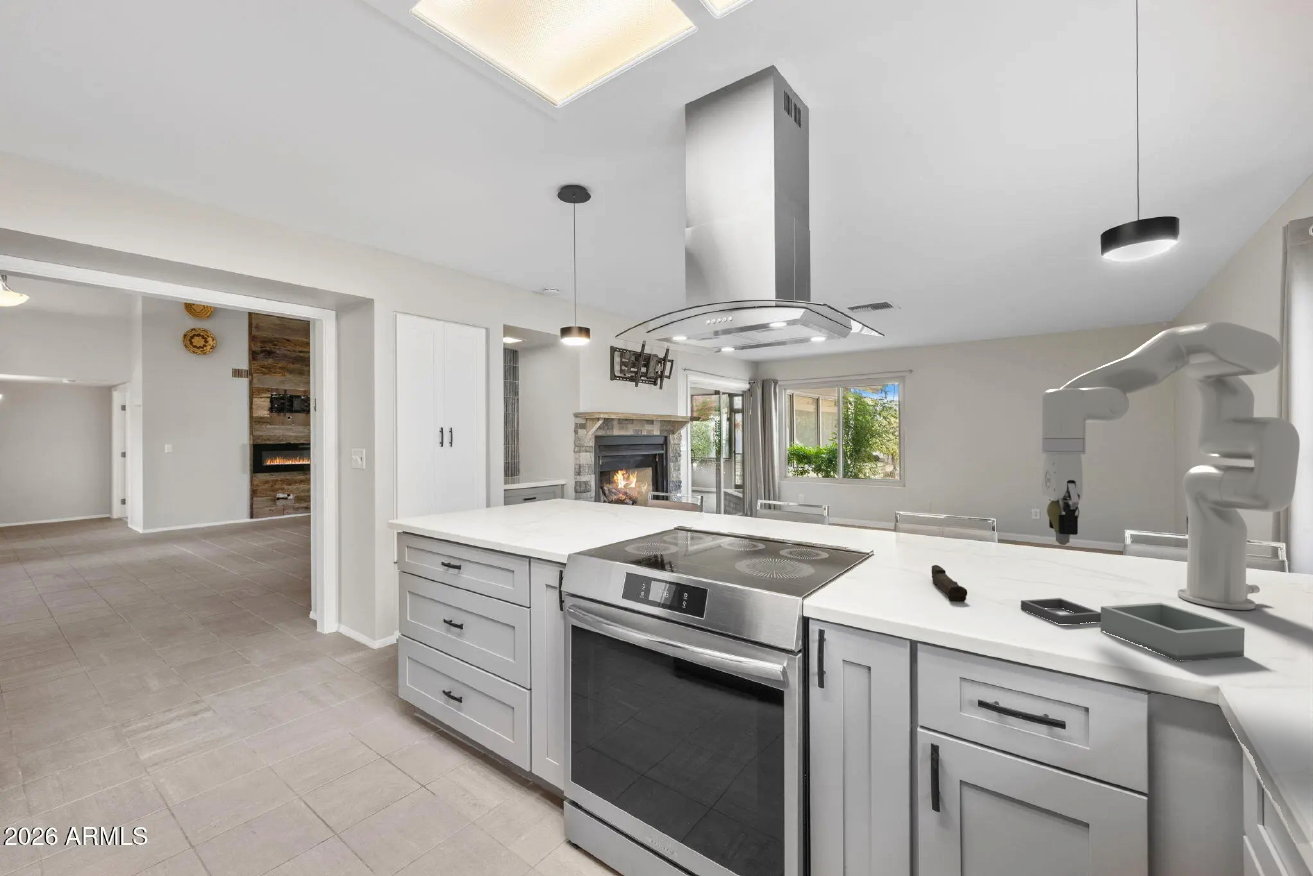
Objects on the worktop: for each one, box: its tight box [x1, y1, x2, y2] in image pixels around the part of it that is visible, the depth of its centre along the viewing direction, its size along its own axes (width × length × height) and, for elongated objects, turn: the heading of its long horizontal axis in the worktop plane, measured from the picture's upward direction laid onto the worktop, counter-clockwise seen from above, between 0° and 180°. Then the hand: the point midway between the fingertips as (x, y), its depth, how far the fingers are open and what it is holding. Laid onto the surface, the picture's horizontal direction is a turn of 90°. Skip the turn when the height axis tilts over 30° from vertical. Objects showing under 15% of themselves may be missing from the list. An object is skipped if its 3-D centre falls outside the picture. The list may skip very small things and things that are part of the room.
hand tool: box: [931, 564, 968, 603], centre depth 136 cm, size 19×4×5 cm, turn 166°
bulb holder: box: [1020, 597, 1101, 625], centre depth 118 cm, size 10×10×2 cm
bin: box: [1100, 602, 1245, 662], centre depth 103 cm, size 14×14×5 cm
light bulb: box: [1046, 498, 1080, 546], centre depth 117 cm, size 6×6×10 cm
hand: (1063, 530), depth 117 cm, fingers closed on light bulb, 5 cm apart
